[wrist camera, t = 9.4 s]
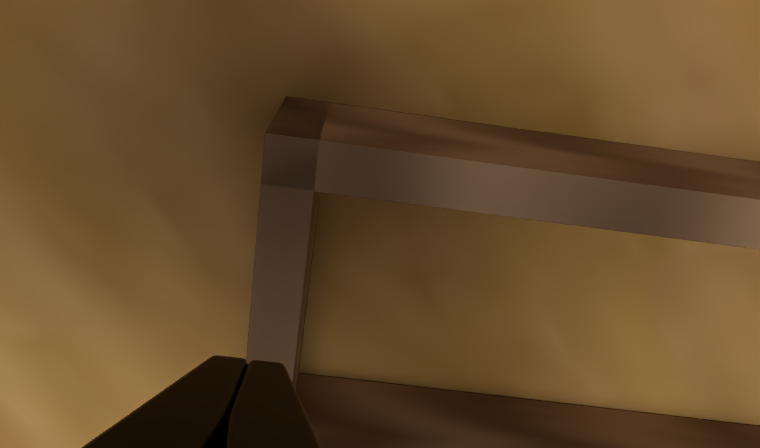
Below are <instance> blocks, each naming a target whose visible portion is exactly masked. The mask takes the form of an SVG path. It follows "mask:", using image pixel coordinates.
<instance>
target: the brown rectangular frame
mask: <svg viewBox="0 0 760 448" xmlns="http://www.w3.org/2000/svg"><path fill="white" fill-rule="evenodd" d="M320 192H323V193H331V194H339V195H346V196H354V197H362V198H369V199H377V200H385V201H392V202H400V203H408V204H415V205H423V206H430V207H438V208H446V209H453V210H461V211H469V212H476V213H484V214H492V215H499V216H507V217H515V218H522V219H530V220H538V221H545V222H553V223H561V224H568V225H576V226H584V227H591V228H599V229H607V230H614V231H622V232H629V233H637V234H645V235H652V236H660V237H668V238H675V239H683V240H691V241H698V242H706V243H714V244H721V245H729V246H737V247H744V248H752V249H760V162H755V161H748V160H740V159H733V158H726V157H719V156H712V155H704V154H697V153H690V152H683V151H675V150H668V149H661V148H654V147H647V146H639V145H632V144H625V143H618V142H610V141H603V140H596V139H589V138H582V137H574V136H567V135H560V134H553V133H545V132H538V131H531V130H524V129H517V128H509V127H502V126H495V125H488V124H480V123H473V122H466V121H459V120H451V119H444V118H437V117H430V116H423V115H415V114H408V113H401V112H394V111H386V110H379V109H372V108H365V107H358V106H350V105H343V104H336V103H329V102H321V101H314V100H307V99H300V98H293V97H286V98H285V100H284V102H283V103H282V105H281V107H280V108H279V110H278V112H277V114H276V115H275V117H274V119H273V120H272V122H271V124H270V126H269V127H268V129H267V131H266V132H265V141H264V153H263V165H262V177H261V189H260V201H259V213H258V226H257V238H256V250H255V262H254V274H253V286H252V298H251V310H250V322H249V334H248V346H247V358H246V361H247V363H248V364H249V362H250V361H252V360H261V361H269V362H278V363H282V364H283V365H284V366H285V367H286V369H287V372H288V374H289V376H290V378H291V381H292V383H293V385H294V388H295V390H296V392H297V394H298V397H299V399H300V401H301V403H302V406H303V408H304V410H305V412H306V415H307V417H308V419H309V421H310V424H311V426H312V428H313V431H314V433H315V435H316V437H317V440H318V442H319V444H320V446H321V448H760V426H754V425H746V424H737V423H728V422H720V421H711V420H702V419H693V418H685V417H676V416H667V415H659V414H650V413H641V412H633V411H624V410H615V409H606V408H598V407H589V406H580V405H572V404H563V403H554V402H546V401H537V400H528V399H519V398H511V397H502V396H493V395H485V394H476V393H467V392H458V391H450V390H441V389H432V388H424V387H415V386H406V385H398V384H389V383H380V382H371V381H363V380H354V379H345V378H337V377H328V376H319V375H311V374H302V373H299V366H300V357H301V349H302V340H303V332H304V323H305V314H306V306H307V297H308V288H309V280H310V271H311V263H312V254H313V245H314V237H315V228H316V219H317V211H318V202H319V194H320Z"/></svg>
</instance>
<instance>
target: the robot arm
mask: <svg viewBox="0 0 760 448" xmlns="http://www.w3.org/2000/svg"><path fill="white" fill-rule="evenodd" d="M82 448H321V446H320V444H319V442H318V440H317V437H316V435H315V433H314V431H313V428H312V426H311V424H310V421H309V419H308V417H307V415H306V412H305V410H304V408H303V406H302V403H301V401H300V399H299V397H298V394H297V392H296V390H295V388H294V385H293V383H292V381H291V378H290V376H289V374H288V372H287V369H286V367H285V366H284V365H283V364H282V363H278V362H269V361H261V360H252V361H250V362H249V364H248V363H247V361H246V360H245V359H242V358H235V357H227V356H218V355H215V356H212V357H210V358H209V359H207V360H206V361H204V362H203V363H202V364H200V365H199V366H197V367H196V368H194V369H193V370H192V371H190V372H189V373H187V374H186V375H184V376H183V377H182V378H180V379H179V380H177V381H176V382H174V383H173V384H172V385H170V386H169V387H167V388H166V389H164V390H163V391H162V392H160V393H159V394H157V395H156V396H155V397H153V398H152V399H150V400H149V401H147V402H146V403H145V404H143V405H142V406H140V407H139V408H137V409H136V410H135V411H133V412H132V413H130V414H129V415H127V416H126V417H125V418H123V419H122V420H120V421H119V422H117V423H116V424H115V425H113V426H112V427H110V428H109V429H107V430H106V431H105V432H103V433H102V434H100V435H99V436H97V437H96V438H95V439H93V440H92V441H90V442H89V443H87V444H86V445H85V446H83V447H82Z"/></svg>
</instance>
